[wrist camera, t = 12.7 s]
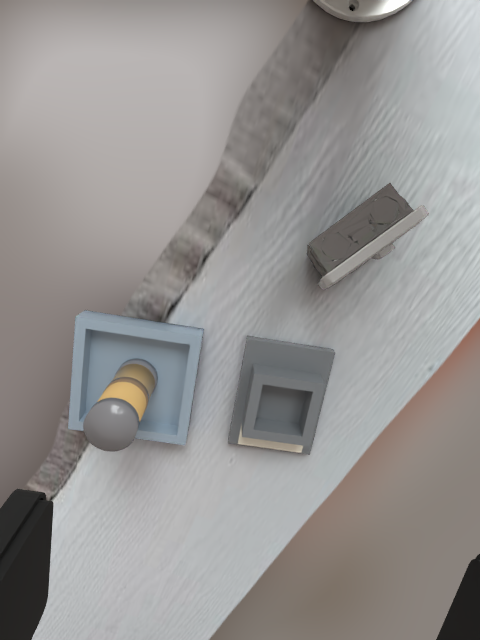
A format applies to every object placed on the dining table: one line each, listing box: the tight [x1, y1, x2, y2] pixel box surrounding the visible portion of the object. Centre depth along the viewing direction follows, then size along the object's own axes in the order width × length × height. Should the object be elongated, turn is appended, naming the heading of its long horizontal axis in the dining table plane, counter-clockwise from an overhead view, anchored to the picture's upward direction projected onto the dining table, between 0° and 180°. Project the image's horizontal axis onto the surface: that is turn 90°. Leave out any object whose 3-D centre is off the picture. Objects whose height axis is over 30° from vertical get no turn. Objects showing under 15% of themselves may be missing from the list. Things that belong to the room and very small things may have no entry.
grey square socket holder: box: [228, 336, 335, 455], centre depth 42 cm, size 12×9×4 cm
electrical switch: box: [307, 183, 429, 290], centre depth 35 cm, size 9×5×9 cm, turn 127°
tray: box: [68, 310, 204, 445], centre depth 42 cm, size 12×12×2 cm
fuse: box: [83, 358, 158, 451], centre depth 37 cm, size 4×4×10 cm
